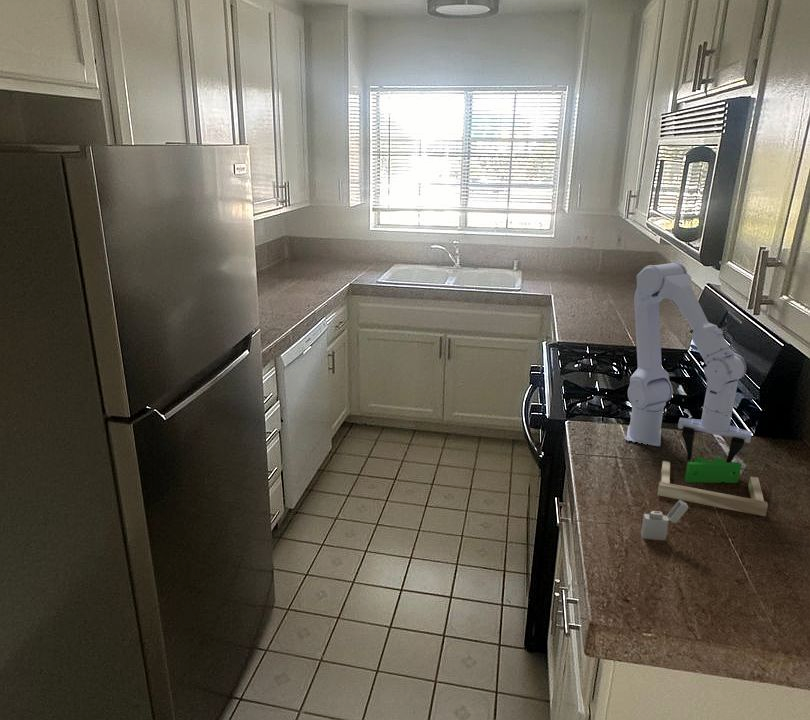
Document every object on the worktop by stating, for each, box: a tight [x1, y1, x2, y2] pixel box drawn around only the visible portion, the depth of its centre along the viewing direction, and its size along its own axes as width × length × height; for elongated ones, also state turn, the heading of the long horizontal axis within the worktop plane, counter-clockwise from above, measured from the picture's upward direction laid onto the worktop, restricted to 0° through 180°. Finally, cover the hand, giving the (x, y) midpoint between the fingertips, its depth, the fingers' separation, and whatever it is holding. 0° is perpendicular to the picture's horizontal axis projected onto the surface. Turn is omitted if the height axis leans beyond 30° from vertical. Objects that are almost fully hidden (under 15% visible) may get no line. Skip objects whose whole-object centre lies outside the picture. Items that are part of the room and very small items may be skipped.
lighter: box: [640, 499, 689, 541], centre depth 113 cm, size 7×2×8 cm, turn 81°
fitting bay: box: [657, 460, 769, 517], centre depth 129 cm, size 12×20×2 cm, turn 67°
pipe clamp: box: [684, 455, 742, 484], centre depth 134 cm, size 11×4×5 cm, turn 89°
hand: (707, 462), depth 138 cm, fingers open, 7 cm apart
